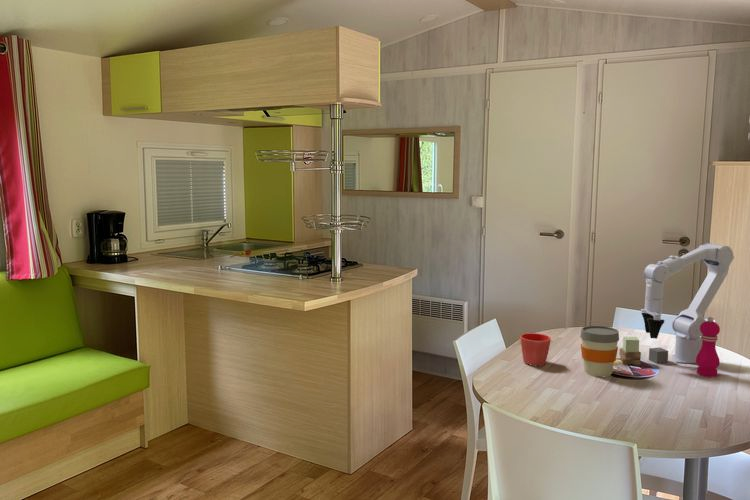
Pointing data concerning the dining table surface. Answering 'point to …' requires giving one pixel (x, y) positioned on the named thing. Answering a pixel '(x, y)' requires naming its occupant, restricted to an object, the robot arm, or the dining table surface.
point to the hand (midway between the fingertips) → (651, 335)
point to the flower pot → (535, 348)
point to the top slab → (629, 354)
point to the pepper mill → (708, 349)
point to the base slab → (630, 361)
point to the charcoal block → (658, 355)
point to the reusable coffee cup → (599, 349)
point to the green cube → (631, 344)
